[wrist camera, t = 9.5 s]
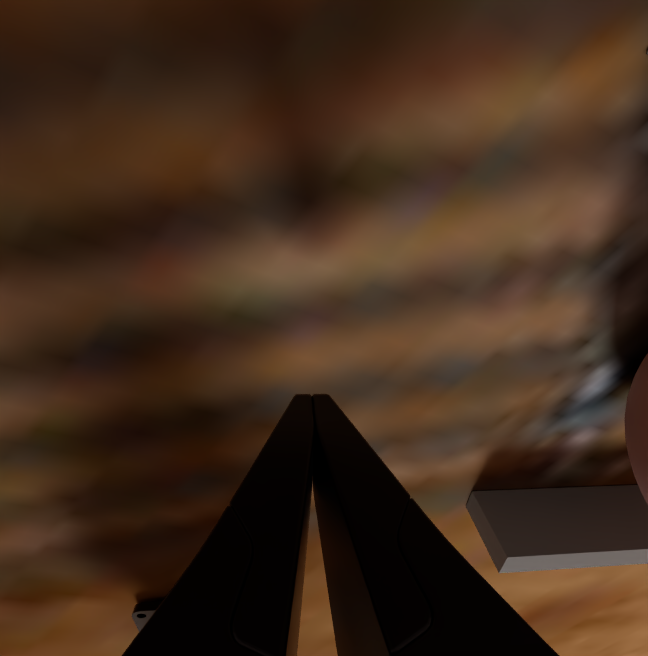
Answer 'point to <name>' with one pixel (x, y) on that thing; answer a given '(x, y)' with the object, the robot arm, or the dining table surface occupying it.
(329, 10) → the dining table surface
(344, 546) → the robot arm
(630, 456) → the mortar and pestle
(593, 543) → the grey frame
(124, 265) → the dining table surface
